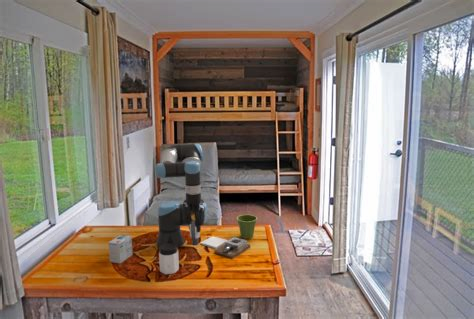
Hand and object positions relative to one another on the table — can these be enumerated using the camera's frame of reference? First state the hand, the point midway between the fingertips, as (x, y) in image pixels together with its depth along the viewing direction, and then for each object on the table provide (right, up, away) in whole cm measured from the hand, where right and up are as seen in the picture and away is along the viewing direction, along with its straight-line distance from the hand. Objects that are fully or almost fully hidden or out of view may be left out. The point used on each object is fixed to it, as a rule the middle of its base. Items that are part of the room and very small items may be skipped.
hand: (194, 236), depth 194 cm
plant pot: (+27, -5, +26) cm, 38 cm away
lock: (+19, -9, +8) cm, 22 cm away
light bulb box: (-38, -11, 0) cm, 39 cm away
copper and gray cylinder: (0, -4, +1) cm, 4 cm away
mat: (+9, -7, +17) cm, 21 cm away
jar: (-11, -13, -13) cm, 22 cm away
